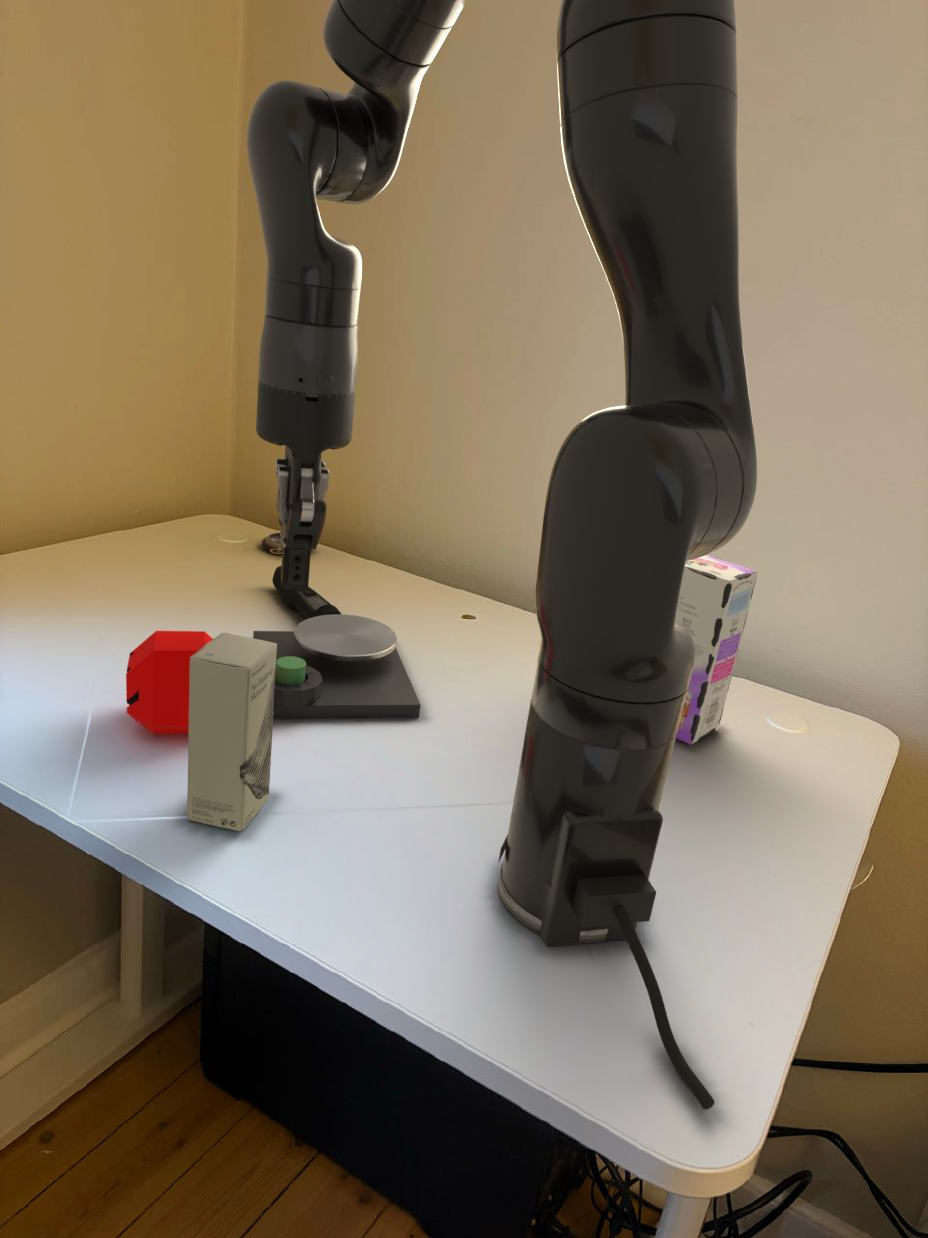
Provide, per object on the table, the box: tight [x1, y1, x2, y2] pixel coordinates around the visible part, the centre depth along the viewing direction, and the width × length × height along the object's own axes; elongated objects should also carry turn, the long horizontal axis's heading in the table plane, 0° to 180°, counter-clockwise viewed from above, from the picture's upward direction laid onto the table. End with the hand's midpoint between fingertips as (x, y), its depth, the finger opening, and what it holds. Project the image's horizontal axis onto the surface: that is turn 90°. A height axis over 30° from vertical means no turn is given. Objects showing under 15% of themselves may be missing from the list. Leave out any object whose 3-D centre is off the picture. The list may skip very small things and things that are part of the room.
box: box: [186, 632, 277, 832], centre depth 65 cm, size 5×4×13 cm
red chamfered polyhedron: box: [125, 630, 214, 736], centre depth 76 cm, size 8×8×8 cm
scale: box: [252, 630, 421, 720], centre depth 88 cm, size 16×14×3 cm
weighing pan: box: [293, 613, 398, 662], centre depth 90 cm, size 10×10×1 cm
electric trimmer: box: [271, 565, 342, 620], centre depth 102 cm, size 4×16×3 cm, turn 32°
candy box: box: [675, 554, 759, 746], centre depth 87 cm, size 14×6×16 cm, turn 47°
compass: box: [261, 500, 328, 555], centre depth 120 cm, size 8×8×7 cm
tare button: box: [275, 656, 306, 685], centre depth 81 cm, size 3×3×2 cm
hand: (294, 586), depth 78 cm, fingers closed
